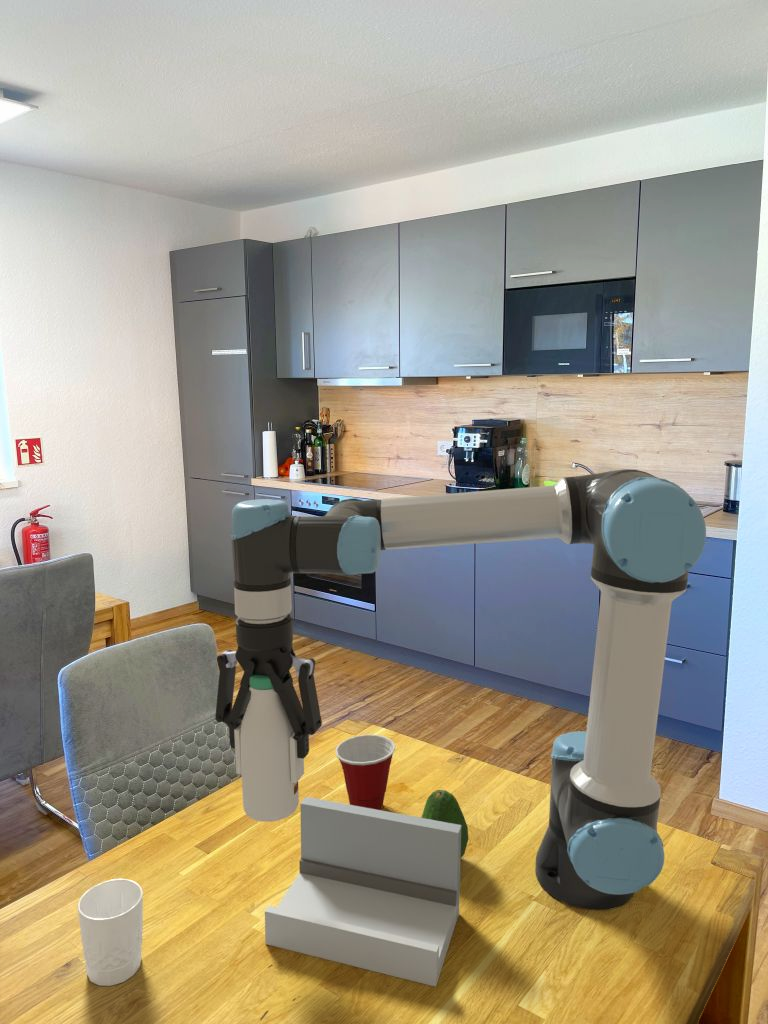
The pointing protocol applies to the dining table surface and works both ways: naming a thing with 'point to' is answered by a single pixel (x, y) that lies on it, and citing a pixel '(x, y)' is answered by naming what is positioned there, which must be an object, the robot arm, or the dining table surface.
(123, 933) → the white cup
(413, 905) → the board
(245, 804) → the milk bottle
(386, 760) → the plastic cup
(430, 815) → the avocado
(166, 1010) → the dining table surface
